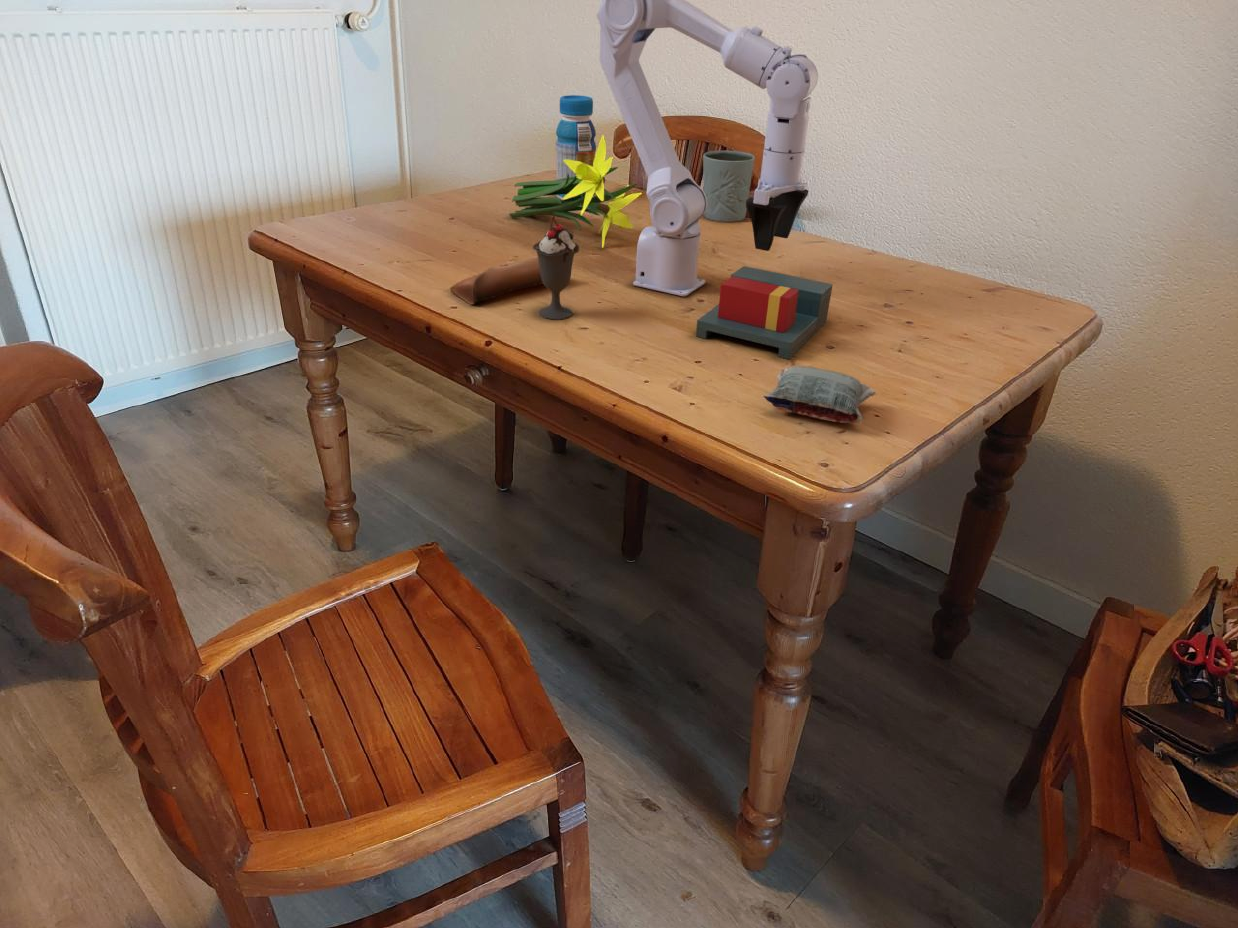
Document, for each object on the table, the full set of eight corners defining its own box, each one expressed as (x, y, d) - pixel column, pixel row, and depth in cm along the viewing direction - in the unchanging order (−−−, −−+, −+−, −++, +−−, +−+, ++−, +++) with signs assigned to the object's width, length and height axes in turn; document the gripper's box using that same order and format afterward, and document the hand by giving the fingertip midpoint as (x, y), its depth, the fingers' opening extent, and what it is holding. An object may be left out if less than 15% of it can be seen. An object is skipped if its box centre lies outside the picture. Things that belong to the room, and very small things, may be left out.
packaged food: (779, 385, 111) (784, 350, 108) (873, 406, 107) (881, 369, 104) (760, 414, 104) (765, 377, 101) (859, 438, 100) (867, 400, 97)
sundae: (544, 325, 125) (543, 221, 117) (526, 309, 130) (524, 208, 123) (585, 318, 128) (587, 216, 120) (566, 303, 133) (567, 204, 125)
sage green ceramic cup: (750, 224, 174) (757, 162, 167) (699, 222, 174) (705, 159, 167) (745, 210, 182) (751, 151, 176) (696, 208, 182) (701, 149, 176)
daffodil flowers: (566, 210, 181) (681, 201, 154) (523, 259, 176) (634, 258, 150) (518, 142, 171) (632, 119, 144) (471, 192, 166) (580, 178, 140)
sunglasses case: (538, 266, 145) (550, 237, 140) (561, 297, 144) (574, 269, 138) (445, 288, 135) (455, 258, 130) (468, 322, 133) (479, 293, 128)
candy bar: (717, 317, 123) (720, 283, 121) (728, 309, 126) (732, 275, 124) (784, 333, 119) (789, 298, 117) (794, 324, 122) (799, 289, 120)
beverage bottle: (551, 201, 183) (551, 99, 173) (560, 191, 190) (560, 93, 180) (590, 204, 182) (592, 102, 172) (598, 194, 189) (600, 95, 179)
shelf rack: (695, 336, 124) (699, 296, 121) (739, 303, 136) (743, 265, 133) (789, 359, 118) (795, 318, 115) (826, 322, 130) (832, 284, 127)
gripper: (792, 162, 117) (779, 260, 124) (827, 145, 128) (813, 236, 135) (744, 154, 120) (734, 251, 127) (782, 138, 131) (770, 228, 138)
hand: (771, 243), depth 132 cm, fingers open, 7 cm apart
